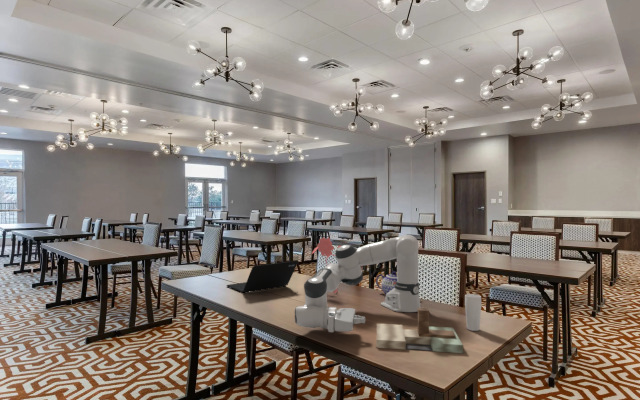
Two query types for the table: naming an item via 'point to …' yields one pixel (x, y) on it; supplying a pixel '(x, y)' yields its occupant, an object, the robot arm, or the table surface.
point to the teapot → (387, 282)
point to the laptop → (267, 276)
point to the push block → (424, 326)
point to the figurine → (325, 249)
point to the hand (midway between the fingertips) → (365, 319)
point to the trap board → (415, 339)
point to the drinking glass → (473, 311)
